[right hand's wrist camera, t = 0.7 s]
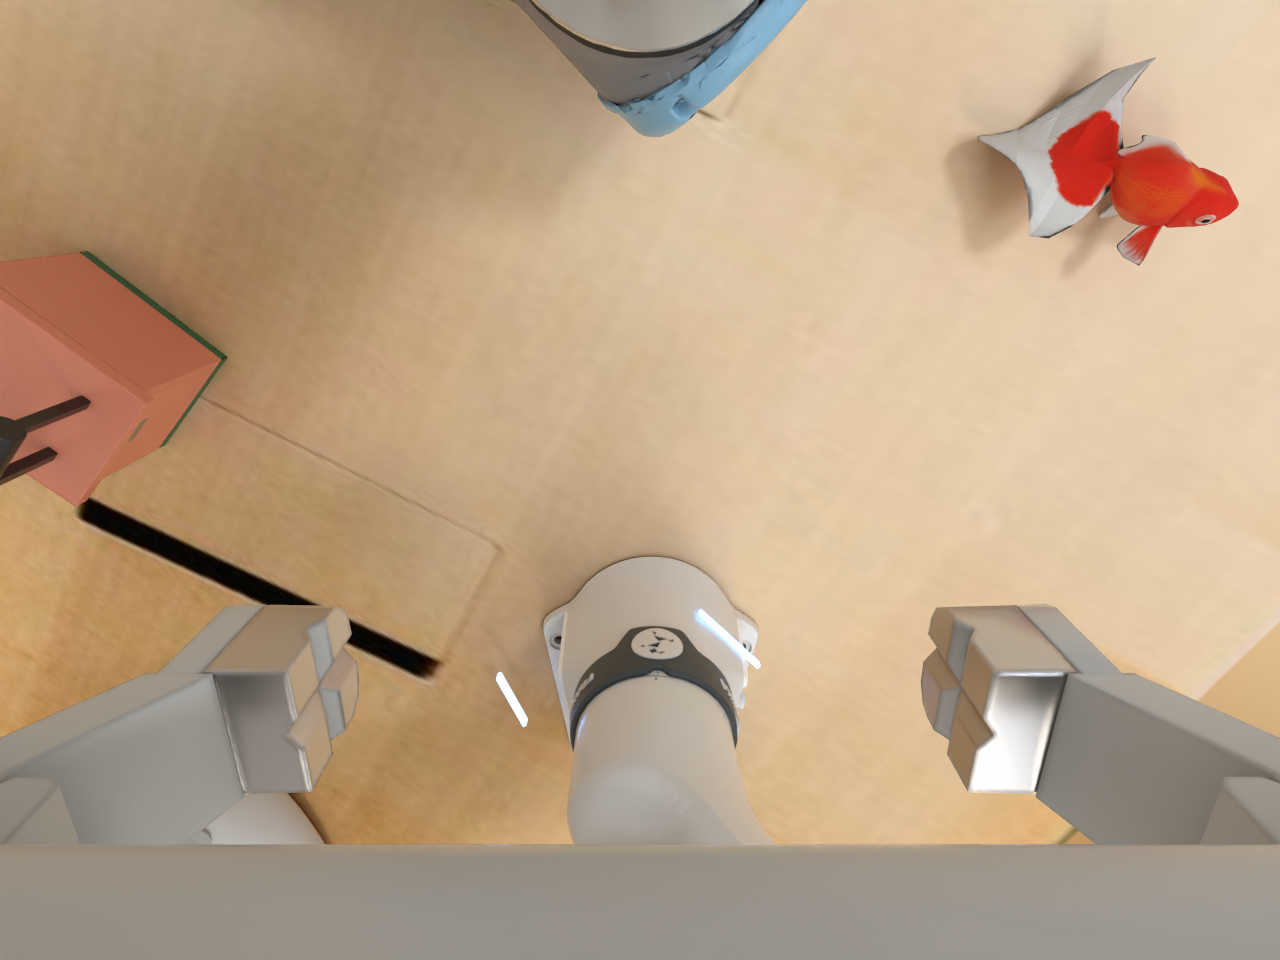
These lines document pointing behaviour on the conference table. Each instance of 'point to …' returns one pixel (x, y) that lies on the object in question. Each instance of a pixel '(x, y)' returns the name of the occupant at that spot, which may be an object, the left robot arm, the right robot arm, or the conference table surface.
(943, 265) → the conference table surface
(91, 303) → the chest
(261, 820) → the grey plastic housing
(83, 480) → the lid
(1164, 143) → the fish
